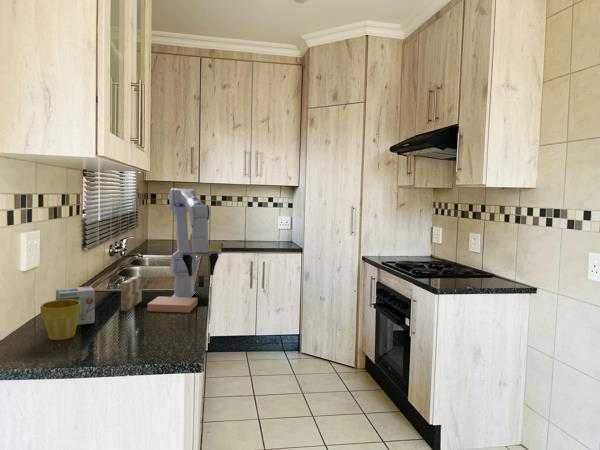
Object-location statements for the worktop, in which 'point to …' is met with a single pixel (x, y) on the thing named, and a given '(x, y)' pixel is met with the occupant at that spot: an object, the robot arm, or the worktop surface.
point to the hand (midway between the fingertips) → (201, 275)
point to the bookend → (131, 292)
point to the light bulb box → (84, 296)
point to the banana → (215, 246)
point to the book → (172, 304)
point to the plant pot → (61, 318)
